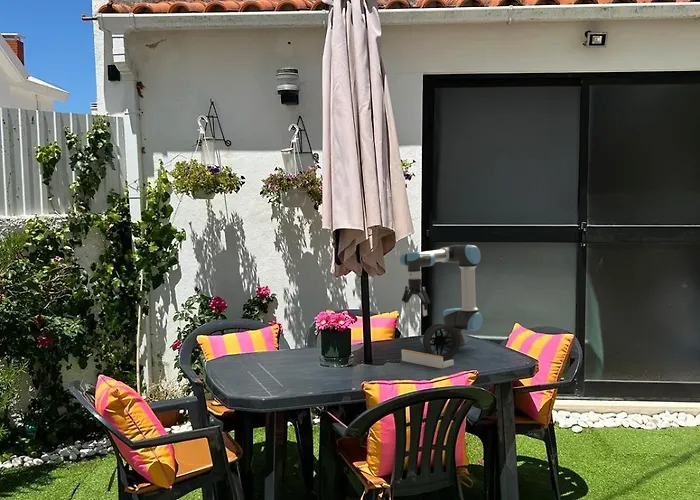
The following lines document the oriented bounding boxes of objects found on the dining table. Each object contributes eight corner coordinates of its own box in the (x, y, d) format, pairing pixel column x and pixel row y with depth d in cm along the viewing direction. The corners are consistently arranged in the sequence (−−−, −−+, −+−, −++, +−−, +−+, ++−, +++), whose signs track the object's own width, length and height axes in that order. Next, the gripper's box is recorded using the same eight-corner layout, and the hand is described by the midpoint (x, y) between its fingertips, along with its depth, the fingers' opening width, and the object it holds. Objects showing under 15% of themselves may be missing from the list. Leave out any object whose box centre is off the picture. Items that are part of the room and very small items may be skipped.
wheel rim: (454, 355, 390) (453, 322, 389) (460, 358, 381) (459, 324, 380) (423, 358, 385) (421, 325, 384) (428, 362, 376) (427, 328, 375)
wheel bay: (413, 357, 389) (413, 346, 389) (453, 365, 366) (453, 353, 366) (401, 360, 383) (401, 349, 382) (442, 368, 359) (441, 356, 359)
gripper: (394, 278, 383) (396, 313, 384) (426, 280, 364) (428, 317, 365) (403, 276, 388) (405, 311, 389) (435, 278, 369) (436, 315, 370)
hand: (416, 314), depth 377 cm, fingers open, 13 cm apart
